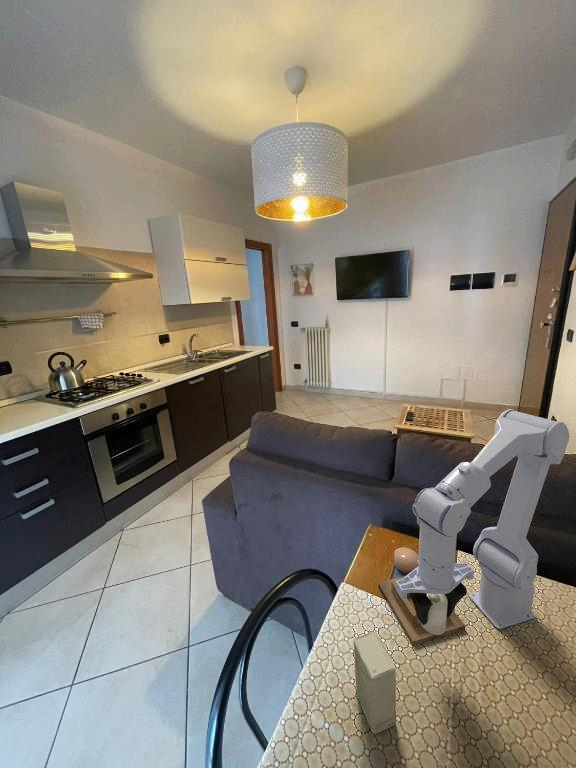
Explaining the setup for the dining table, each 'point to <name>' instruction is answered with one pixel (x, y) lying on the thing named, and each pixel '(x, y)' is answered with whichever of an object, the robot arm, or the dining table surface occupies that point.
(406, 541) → the dining table surface
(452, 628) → the caddy
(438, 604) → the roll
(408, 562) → the tan oval ball
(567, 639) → the dining table surface
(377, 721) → the skincare box
